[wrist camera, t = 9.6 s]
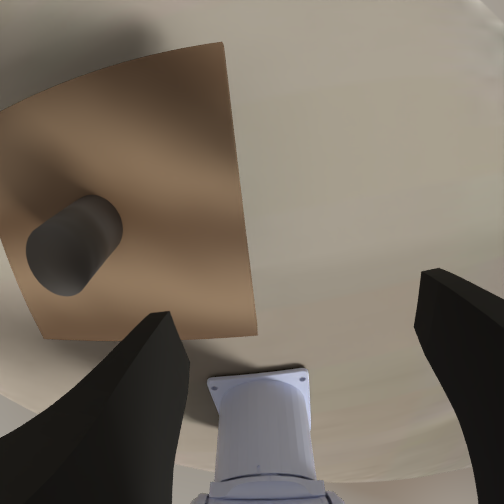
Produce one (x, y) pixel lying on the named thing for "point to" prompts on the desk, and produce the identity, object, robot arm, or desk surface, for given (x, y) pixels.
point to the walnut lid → (128, 201)
